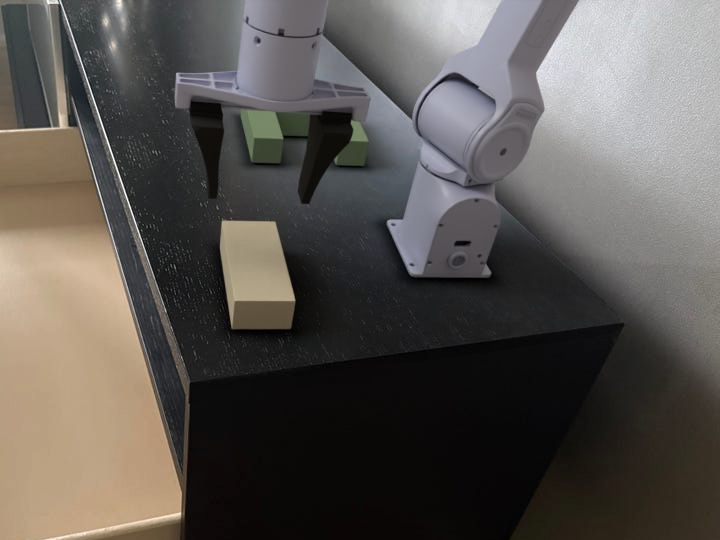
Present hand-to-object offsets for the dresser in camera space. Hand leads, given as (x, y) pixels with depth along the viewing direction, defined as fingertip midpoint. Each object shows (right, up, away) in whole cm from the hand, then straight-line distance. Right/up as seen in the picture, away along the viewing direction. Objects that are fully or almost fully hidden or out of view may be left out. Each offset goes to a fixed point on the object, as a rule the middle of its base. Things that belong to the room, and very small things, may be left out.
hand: (257, 195), depth 62 cm
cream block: (0, -7, +5) cm, 9 cm away
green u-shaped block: (+6, +13, +28) cm, 31 cm away
